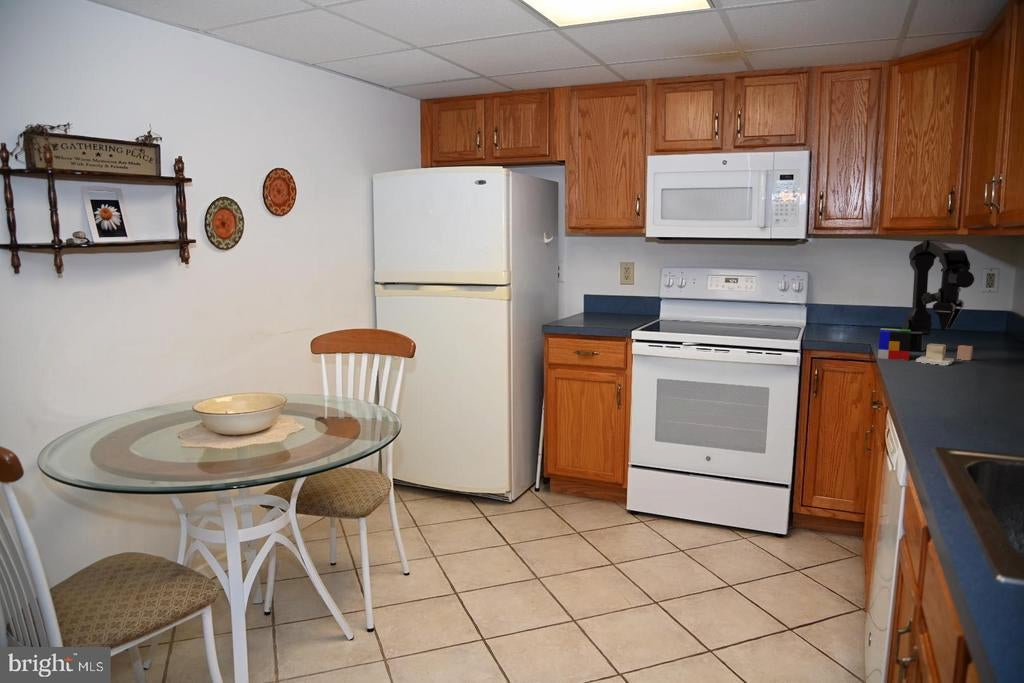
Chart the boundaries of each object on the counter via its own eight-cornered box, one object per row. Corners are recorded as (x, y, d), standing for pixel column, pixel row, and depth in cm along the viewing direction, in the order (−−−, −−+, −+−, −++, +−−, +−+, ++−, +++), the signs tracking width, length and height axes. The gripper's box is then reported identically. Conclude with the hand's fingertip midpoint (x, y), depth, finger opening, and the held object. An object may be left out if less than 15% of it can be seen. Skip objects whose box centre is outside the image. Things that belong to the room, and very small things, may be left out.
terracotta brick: (958, 358, 267) (960, 345, 266) (971, 359, 264) (972, 346, 264) (956, 360, 264) (958, 346, 263) (969, 361, 261) (970, 347, 261)
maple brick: (928, 357, 262) (930, 343, 261) (944, 358, 259) (946, 344, 258) (925, 359, 258) (927, 345, 258) (941, 360, 255) (943, 346, 254)
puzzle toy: (877, 358, 267) (879, 331, 266) (878, 354, 276) (880, 328, 275) (908, 360, 263) (910, 333, 261) (908, 356, 271) (910, 330, 270)
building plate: (922, 358, 266) (922, 355, 266) (953, 362, 259) (953, 358, 259) (915, 362, 258) (916, 359, 258) (948, 365, 252) (948, 362, 252)
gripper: (931, 282, 268) (927, 324, 271) (918, 285, 255) (914, 329, 257) (966, 284, 261) (961, 327, 264) (954, 287, 247) (950, 332, 250)
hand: (946, 329), depth 259 cm, fingers open, 9 cm apart
